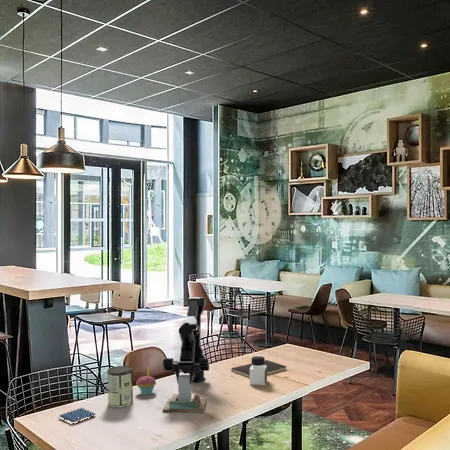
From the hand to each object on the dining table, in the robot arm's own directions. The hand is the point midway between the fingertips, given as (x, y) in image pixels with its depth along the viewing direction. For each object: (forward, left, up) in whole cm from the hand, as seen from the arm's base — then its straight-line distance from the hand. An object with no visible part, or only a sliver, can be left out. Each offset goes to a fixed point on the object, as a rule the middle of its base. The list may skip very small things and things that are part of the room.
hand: (184, 383), depth 193 cm
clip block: (-1, +1, -7) cm, 7 cm away
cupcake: (-26, +3, -10) cm, 28 cm away
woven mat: (-26, -32, -10) cm, 43 cm away
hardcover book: (-5, +59, -10) cm, 60 cm away
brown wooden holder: (-1, +1, -10) cm, 10 cm away
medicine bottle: (+6, +43, -10) cm, 44 cm away
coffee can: (-25, -12, -10) cm, 30 cm away
